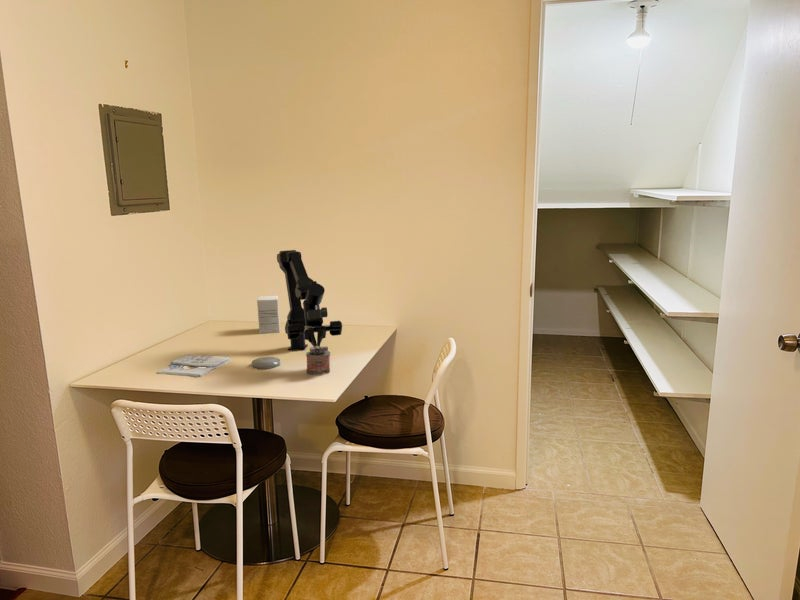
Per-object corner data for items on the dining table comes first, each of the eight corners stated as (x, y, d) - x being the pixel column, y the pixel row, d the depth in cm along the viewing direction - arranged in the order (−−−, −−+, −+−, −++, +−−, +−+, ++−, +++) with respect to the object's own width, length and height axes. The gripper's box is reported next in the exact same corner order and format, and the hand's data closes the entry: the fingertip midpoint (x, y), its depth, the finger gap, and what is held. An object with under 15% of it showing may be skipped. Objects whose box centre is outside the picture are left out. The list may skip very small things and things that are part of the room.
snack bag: (231, 361, 223) (231, 356, 222) (199, 379, 204) (198, 373, 203) (188, 358, 228) (187, 352, 228) (152, 375, 209) (151, 369, 209)
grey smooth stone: (257, 360, 222) (256, 356, 221) (283, 360, 221) (283, 357, 221) (248, 369, 212) (247, 365, 212) (275, 369, 211) (275, 365, 211)
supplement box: (259, 328, 269) (257, 296, 266) (280, 327, 271) (278, 295, 268) (258, 333, 260) (256, 300, 257) (279, 332, 262) (277, 299, 259)
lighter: (306, 375, 204) (306, 350, 200) (306, 369, 207) (305, 344, 203) (330, 373, 206) (330, 349, 201) (329, 368, 209) (329, 343, 204)
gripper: (285, 301, 205) (290, 340, 196) (340, 297, 209) (346, 335, 200) (285, 320, 213) (290, 357, 205) (337, 315, 218) (344, 352, 209)
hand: (317, 350), depth 205 cm, fingers closed, pressing on lighter
